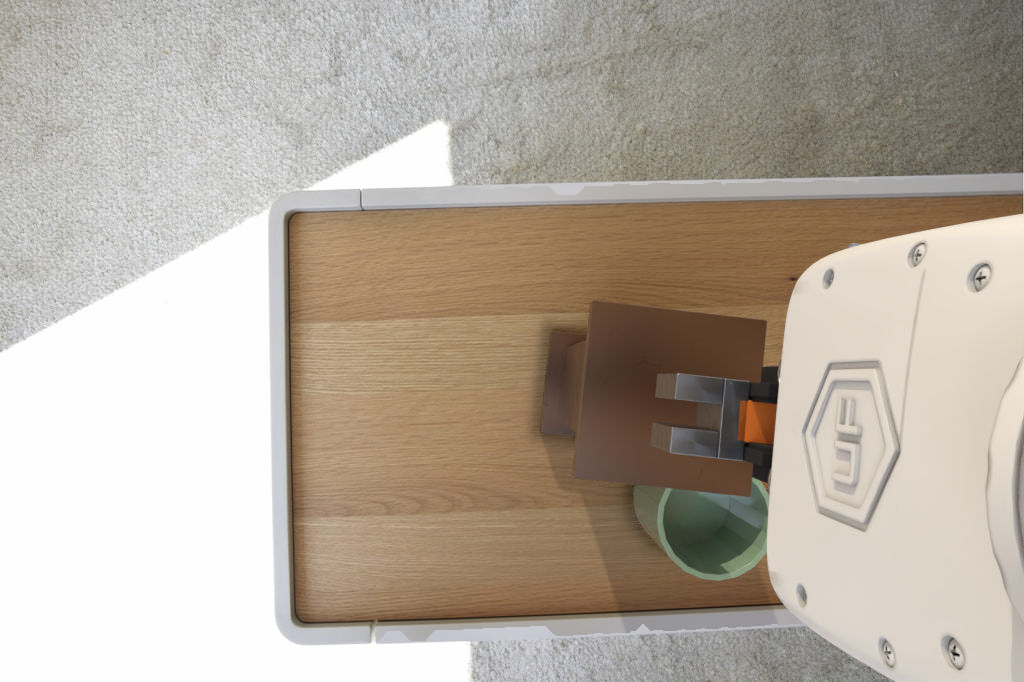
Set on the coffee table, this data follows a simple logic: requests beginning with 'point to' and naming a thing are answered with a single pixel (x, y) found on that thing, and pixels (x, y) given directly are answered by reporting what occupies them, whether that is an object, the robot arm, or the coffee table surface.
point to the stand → (645, 392)
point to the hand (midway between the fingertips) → (765, 422)
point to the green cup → (706, 528)
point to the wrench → (713, 417)
